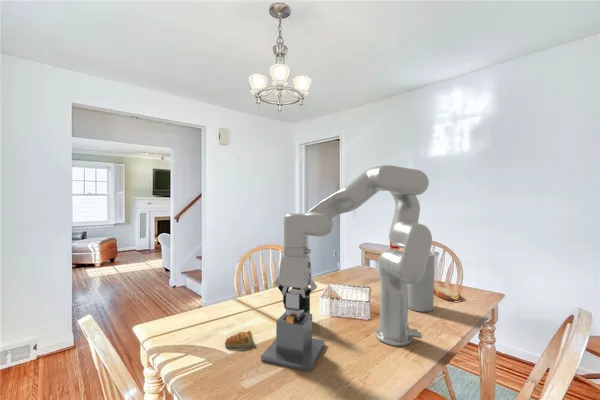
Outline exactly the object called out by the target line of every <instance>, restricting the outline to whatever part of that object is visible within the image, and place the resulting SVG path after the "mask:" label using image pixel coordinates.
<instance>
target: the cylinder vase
mask: <svg viewBox="0 0 600 400" xmlns="http://www.w3.org/2000/svg"><path fill="white" fill-rule="evenodd" d="M434 281H435V254H434V253H432V252H430V254H429V258H428V262H427V266H426V270H425V273H424V275H423V277H422V279H421V280H420V281H419V282H418V283H416V284H407V285H408V310H410V311H411V310H412V311H415V312H421V313H425V312H426V313H427V312H432V311H433V309H434V297H435V296H434V286H435V285H434V284H435V282H434Z"/></svg>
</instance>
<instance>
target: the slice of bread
mask: <svg viewBox="0 0 600 400" xmlns="http://www.w3.org/2000/svg"><path fill="white" fill-rule="evenodd" d="M434 294H435V296H436V295H437V296H436V297H438V296H439V297H438V298H440V297H441V298H440V299H442V298H443V300H445V299H446V300H445V301H447V300H449V301H448V302H450V301H459V300H461V301H462V295H461V294H460V293H459V292H458V291H455V290H453V289H449V288H446V287H443V286H439V285H434Z"/></svg>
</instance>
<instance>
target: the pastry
mask: <svg viewBox="0 0 600 400" xmlns="http://www.w3.org/2000/svg"><path fill="white" fill-rule="evenodd" d="M253 345H254V338H253V334H252V331H251V330H248V331H240V332H237V333H236V334H233V335H231V336H229V337H228V338H226V339H225V342H224V346H225V347H227V348H229V349H231V348H232V349H233V348H234V349H241V348H248V347H252V346H253Z"/></svg>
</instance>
